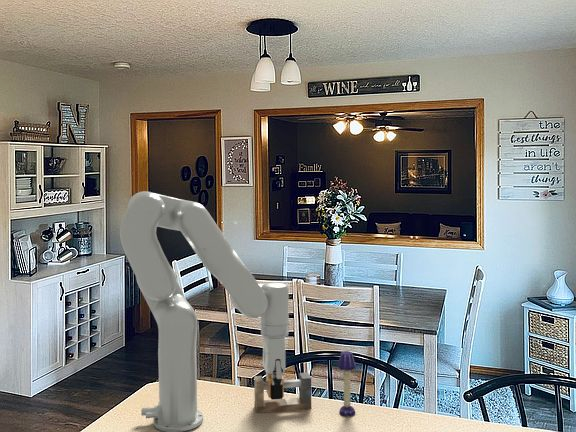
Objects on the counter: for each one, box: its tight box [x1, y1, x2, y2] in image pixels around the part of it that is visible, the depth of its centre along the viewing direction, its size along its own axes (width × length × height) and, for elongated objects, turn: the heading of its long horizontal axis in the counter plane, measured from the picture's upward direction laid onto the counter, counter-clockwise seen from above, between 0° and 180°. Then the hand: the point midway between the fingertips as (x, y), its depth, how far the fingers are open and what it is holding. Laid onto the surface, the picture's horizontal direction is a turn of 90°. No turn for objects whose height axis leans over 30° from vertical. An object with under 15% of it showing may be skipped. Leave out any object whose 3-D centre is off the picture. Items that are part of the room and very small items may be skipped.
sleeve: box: [265, 372, 285, 399], centre depth 154 cm, size 4×5×5 cm
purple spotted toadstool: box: [337, 350, 356, 417], centre depth 151 cm, size 5×5×17 cm
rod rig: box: [253, 372, 312, 414], centre depth 155 cm, size 15×4×8 cm, turn 101°
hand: (274, 394), depth 154 cm, fingers closed on sleeve, 5 cm apart
